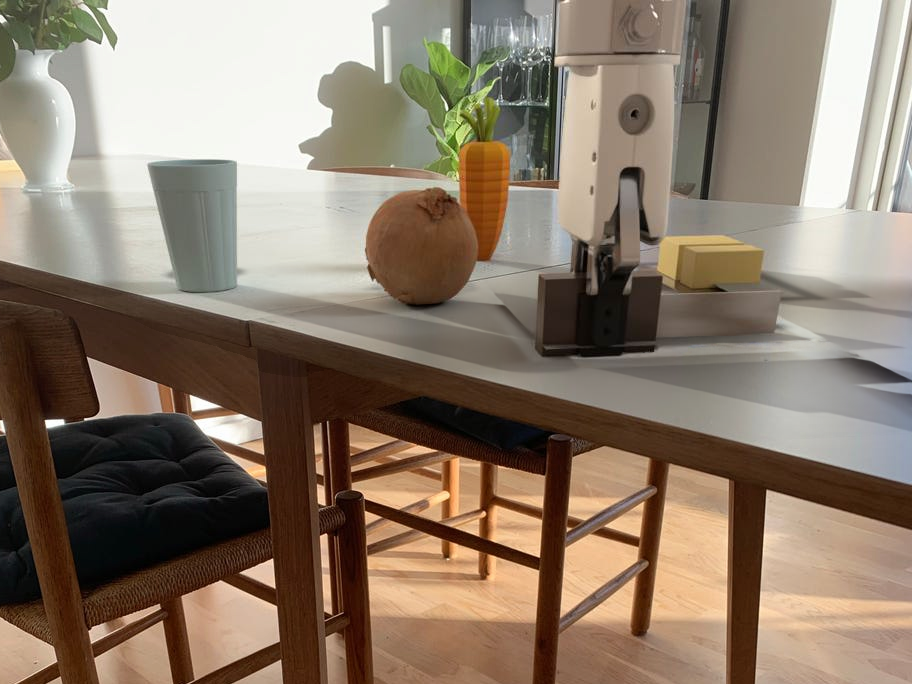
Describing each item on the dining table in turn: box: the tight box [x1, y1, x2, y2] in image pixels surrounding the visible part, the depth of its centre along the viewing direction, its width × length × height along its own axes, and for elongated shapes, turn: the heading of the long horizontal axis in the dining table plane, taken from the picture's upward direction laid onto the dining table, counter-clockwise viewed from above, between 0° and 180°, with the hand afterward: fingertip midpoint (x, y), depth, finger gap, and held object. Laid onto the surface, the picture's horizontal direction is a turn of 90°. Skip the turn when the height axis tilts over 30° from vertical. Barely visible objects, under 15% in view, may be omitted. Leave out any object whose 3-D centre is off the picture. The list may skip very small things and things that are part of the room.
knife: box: [534, 270, 782, 357], centre depth 65 cm, size 17×2×5 cm, turn 97°
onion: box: [364, 186, 478, 306], centre depth 79 cm, size 10×9×10 cm
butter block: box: [657, 234, 745, 280], centre depth 86 cm, size 6×5×3 cm
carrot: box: [458, 96, 511, 262], centre depth 92 cm, size 5×5×15 cm
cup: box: [146, 158, 238, 293], centre depth 85 cm, size 8×8×10 cm
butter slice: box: [680, 244, 765, 289], centre depth 82 cm, size 6×3×3 cm, turn 97°
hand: (594, 347), depth 66 cm, fingers closed on knife, 2 cm apart
